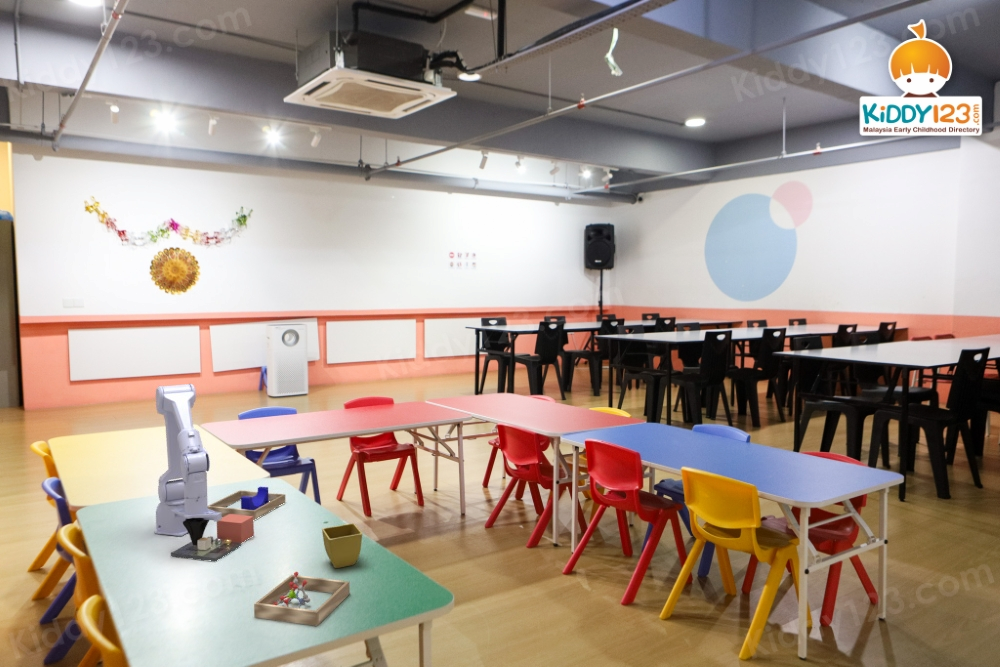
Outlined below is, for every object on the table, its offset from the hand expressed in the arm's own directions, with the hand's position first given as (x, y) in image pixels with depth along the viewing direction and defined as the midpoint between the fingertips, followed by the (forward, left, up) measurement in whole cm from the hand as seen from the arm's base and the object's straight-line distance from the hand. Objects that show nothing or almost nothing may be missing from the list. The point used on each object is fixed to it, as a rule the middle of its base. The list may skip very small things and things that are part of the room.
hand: (197, 544), depth 181 cm
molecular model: (+42, -22, -3) cm, 48 cm away
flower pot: (+42, +3, -2) cm, 42 cm away
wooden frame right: (+44, -20, -2) cm, 49 cm away
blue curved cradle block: (-6, +34, -3) cm, 35 cm away
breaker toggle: (+2, 0, -1) cm, 2 cm away
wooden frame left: (-8, +34, -2) cm, 35 cm away
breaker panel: (+2, +1, -2) cm, 3 cm away
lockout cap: (+4, +11, -2) cm, 12 cm away
